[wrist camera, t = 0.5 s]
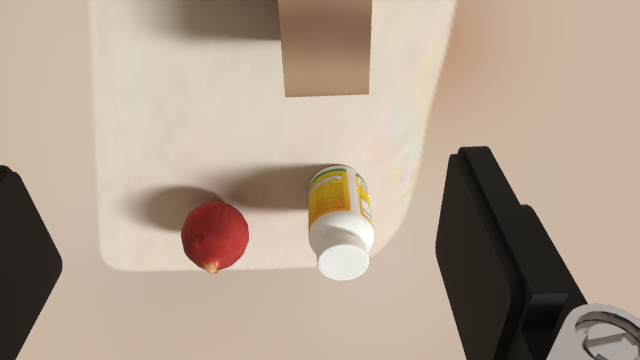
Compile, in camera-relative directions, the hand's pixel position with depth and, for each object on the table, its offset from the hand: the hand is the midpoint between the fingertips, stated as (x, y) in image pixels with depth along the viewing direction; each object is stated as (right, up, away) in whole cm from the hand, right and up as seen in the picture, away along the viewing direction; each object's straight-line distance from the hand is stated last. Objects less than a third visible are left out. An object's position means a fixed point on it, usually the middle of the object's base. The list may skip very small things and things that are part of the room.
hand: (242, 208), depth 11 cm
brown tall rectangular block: (+2, +15, +22) cm, 27 cm away
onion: (-8, -2, +35) cm, 36 cm away
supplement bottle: (+3, 0, +34) cm, 34 cm away
